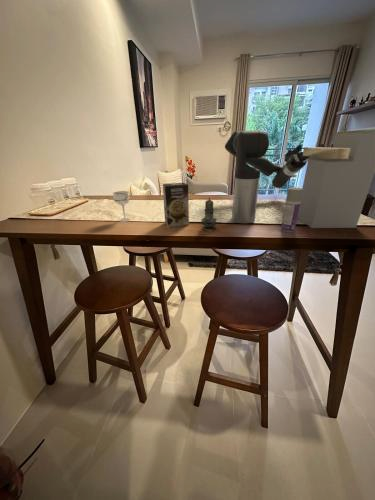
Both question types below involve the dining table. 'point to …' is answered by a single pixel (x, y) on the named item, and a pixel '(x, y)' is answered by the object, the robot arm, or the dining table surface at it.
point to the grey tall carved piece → (209, 217)
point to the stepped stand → (339, 183)
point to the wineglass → (122, 201)
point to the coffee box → (176, 204)
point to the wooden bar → (327, 152)
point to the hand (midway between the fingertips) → (311, 146)
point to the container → (291, 209)
